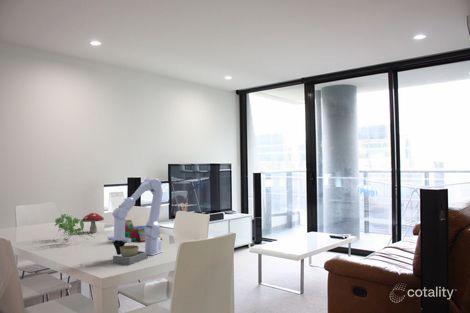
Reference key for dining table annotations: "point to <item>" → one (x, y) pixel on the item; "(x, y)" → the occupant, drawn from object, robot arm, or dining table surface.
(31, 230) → the dining table surface
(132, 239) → the puzzle
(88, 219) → the decorative mushroom
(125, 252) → the flower pot
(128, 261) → the bracket
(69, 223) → the plant cuttings
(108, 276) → the dining table surface
